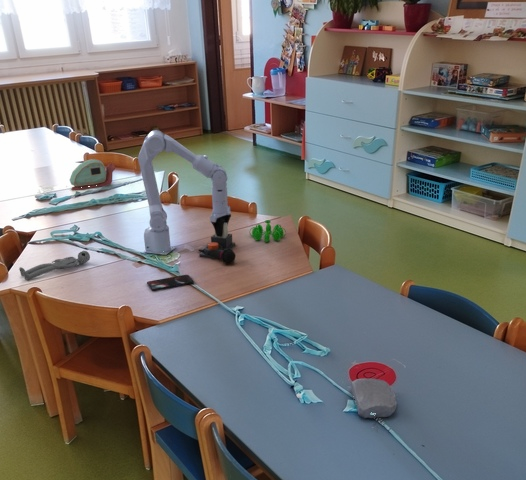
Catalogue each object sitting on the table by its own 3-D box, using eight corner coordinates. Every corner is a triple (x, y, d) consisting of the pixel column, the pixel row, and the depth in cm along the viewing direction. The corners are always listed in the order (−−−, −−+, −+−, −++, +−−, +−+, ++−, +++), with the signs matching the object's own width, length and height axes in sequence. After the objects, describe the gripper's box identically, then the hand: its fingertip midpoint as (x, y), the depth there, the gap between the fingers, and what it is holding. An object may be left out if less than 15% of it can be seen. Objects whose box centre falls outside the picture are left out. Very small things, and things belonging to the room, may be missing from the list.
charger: (215, 239, 225) (214, 224, 222) (218, 236, 228) (218, 221, 224) (224, 240, 224) (223, 225, 220) (228, 237, 226) (227, 222, 223)
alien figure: (16, 264, 203) (84, 246, 215) (20, 277, 206) (87, 258, 218) (23, 271, 198) (92, 252, 210) (27, 284, 200) (95, 265, 212)
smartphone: (194, 281, 198) (151, 289, 192) (194, 283, 198) (152, 291, 193) (187, 274, 203) (146, 281, 198) (187, 275, 204) (146, 283, 198)
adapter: (199, 257, 219) (199, 249, 218) (217, 243, 232) (216, 236, 230) (218, 259, 217) (218, 252, 215) (235, 245, 230) (235, 238, 228)
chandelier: (266, 246, 228) (266, 229, 225) (242, 237, 238) (241, 220, 234) (293, 237, 237) (293, 221, 233) (269, 228, 246) (269, 213, 243)
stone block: (384, 394, 144) (346, 389, 142) (390, 378, 141) (351, 374, 139) (397, 425, 134) (356, 420, 132) (404, 409, 131) (362, 404, 129)
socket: (211, 249, 226) (210, 237, 224) (217, 244, 231) (217, 232, 228) (226, 251, 224) (226, 239, 222) (232, 246, 229) (232, 234, 226)
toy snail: (73, 191, 299) (68, 164, 292) (69, 188, 305) (64, 161, 298) (119, 184, 311) (116, 158, 304) (114, 181, 316) (111, 155, 309)
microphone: (196, 260, 224) (230, 268, 210) (191, 247, 220) (224, 254, 207) (206, 252, 226) (240, 259, 213) (200, 240, 223) (235, 246, 209)
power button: (206, 249, 219) (206, 245, 218) (210, 245, 222) (210, 241, 221) (215, 250, 218) (215, 246, 217) (220, 247, 221) (220, 242, 220)
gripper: (221, 206, 211) (223, 241, 218) (237, 195, 222) (238, 229, 229) (204, 204, 213) (206, 239, 220) (220, 194, 225) (221, 227, 231)
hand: (221, 234), depth 225 cm, fingers closed on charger, 3 cm apart
